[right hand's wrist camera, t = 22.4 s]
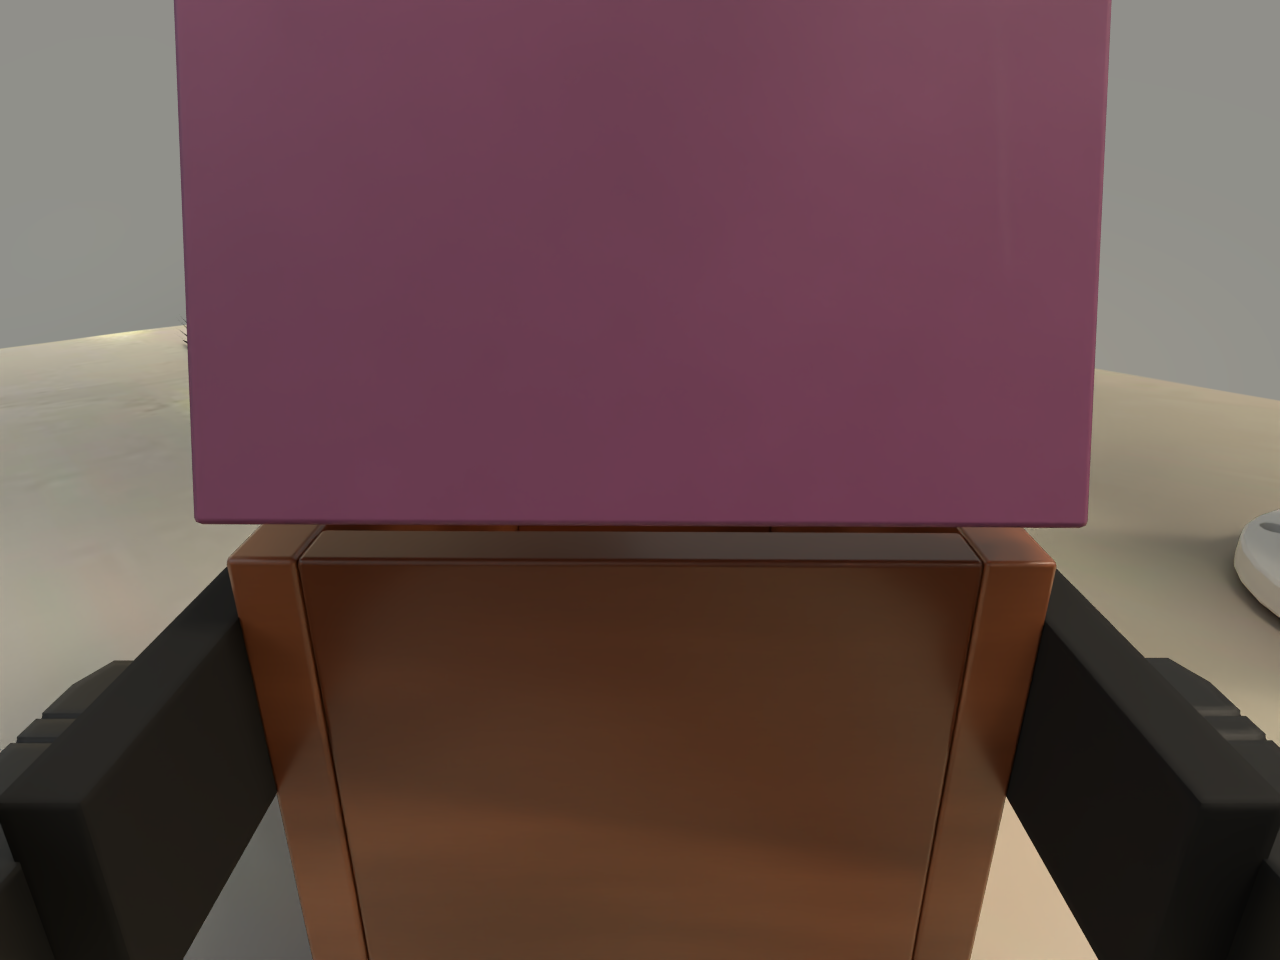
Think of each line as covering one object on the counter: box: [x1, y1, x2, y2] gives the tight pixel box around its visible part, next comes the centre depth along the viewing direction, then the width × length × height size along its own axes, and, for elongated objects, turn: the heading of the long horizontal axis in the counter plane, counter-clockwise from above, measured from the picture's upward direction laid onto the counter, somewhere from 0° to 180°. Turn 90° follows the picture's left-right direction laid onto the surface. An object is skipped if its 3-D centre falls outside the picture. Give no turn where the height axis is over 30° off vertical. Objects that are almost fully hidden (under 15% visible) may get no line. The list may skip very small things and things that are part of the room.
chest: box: [227, 524, 1056, 960], centre depth 19 cm, size 16×10×9 cm, turn 179°
